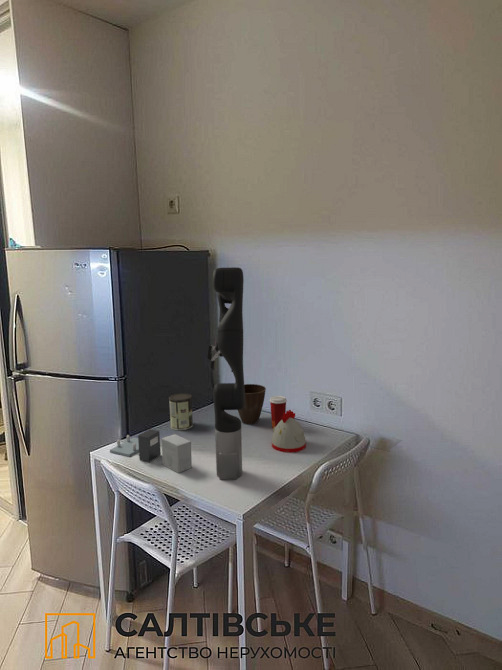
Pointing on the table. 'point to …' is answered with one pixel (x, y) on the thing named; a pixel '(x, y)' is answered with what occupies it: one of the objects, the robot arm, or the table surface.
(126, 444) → the grey peg board
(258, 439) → the table surface
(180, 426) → the coffee can
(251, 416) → the plant pot
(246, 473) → the table surface
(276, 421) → the paper cup
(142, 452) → the block
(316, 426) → the table surface
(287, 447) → the cream and red dome
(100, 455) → the table surface
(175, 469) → the skincare box
